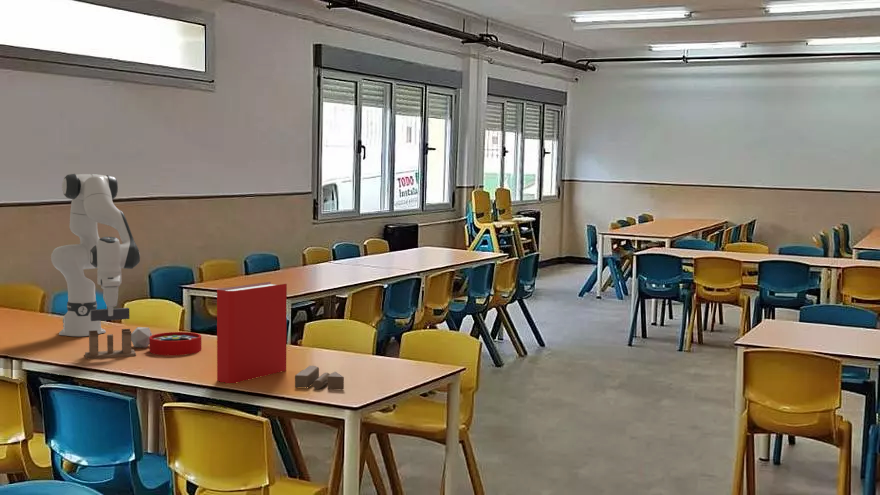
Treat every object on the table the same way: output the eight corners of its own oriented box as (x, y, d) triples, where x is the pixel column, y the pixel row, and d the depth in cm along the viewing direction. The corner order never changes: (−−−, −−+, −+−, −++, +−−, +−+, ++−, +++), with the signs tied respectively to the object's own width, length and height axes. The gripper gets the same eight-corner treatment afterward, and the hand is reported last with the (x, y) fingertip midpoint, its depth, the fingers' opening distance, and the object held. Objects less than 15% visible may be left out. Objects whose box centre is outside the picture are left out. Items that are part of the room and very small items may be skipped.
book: (270, 367, 347) (270, 281, 345) (286, 370, 343) (286, 283, 340) (214, 380, 325) (214, 289, 322) (231, 384, 320) (231, 291, 317)
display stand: (85, 354, 363) (84, 330, 362) (133, 351, 370) (133, 328, 370) (86, 358, 356) (85, 334, 355) (135, 355, 363) (135, 331, 362)
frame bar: (90, 320, 360) (90, 309, 359) (128, 317, 366) (128, 307, 366) (91, 321, 358) (91, 310, 357) (129, 318, 364) (129, 308, 364)
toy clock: (203, 340, 368) (149, 342, 362) (203, 354, 369) (149, 357, 363) (199, 331, 387) (149, 333, 381) (199, 345, 388) (149, 347, 382)
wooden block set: (293, 372, 316) (308, 362, 334) (293, 389, 317) (308, 377, 334) (343, 375, 314) (355, 364, 332) (342, 391, 314) (355, 379, 332)
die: (137, 351, 375) (153, 331, 377) (122, 339, 377) (137, 319, 379) (146, 354, 383) (160, 335, 385) (130, 343, 385) (145, 323, 387)
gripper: (99, 276, 369) (99, 311, 370) (102, 282, 350) (103, 319, 351) (116, 276, 371) (116, 310, 373) (120, 282, 353) (120, 318, 354)
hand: (110, 315), depth 362 cm, fingers closed on frame bar, 3 cm apart
